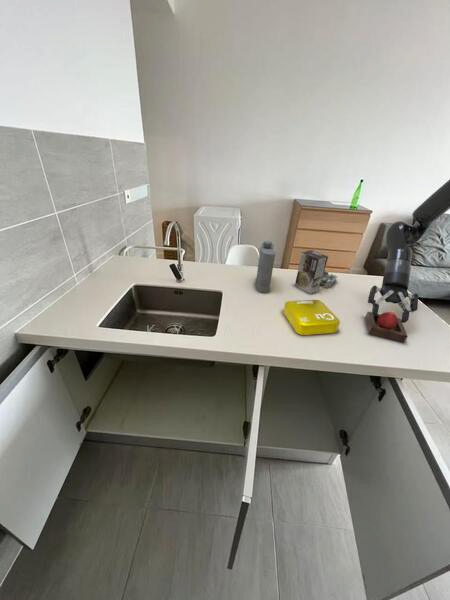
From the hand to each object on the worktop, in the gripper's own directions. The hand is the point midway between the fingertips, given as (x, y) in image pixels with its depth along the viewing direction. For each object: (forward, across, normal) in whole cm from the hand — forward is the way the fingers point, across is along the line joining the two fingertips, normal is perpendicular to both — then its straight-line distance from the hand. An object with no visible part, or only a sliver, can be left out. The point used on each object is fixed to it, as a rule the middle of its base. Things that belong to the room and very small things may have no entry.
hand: (389, 319), depth 82 cm
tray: (+3, 0, +4) cm, 5 cm away
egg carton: (-18, -20, +26) cm, 37 cm away
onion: (+3, 0, +4) cm, 5 cm away
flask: (-6, -47, +14) cm, 50 cm away
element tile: (+8, -25, 0) cm, 26 cm away
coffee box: (-11, -28, +18) cm, 35 cm away
